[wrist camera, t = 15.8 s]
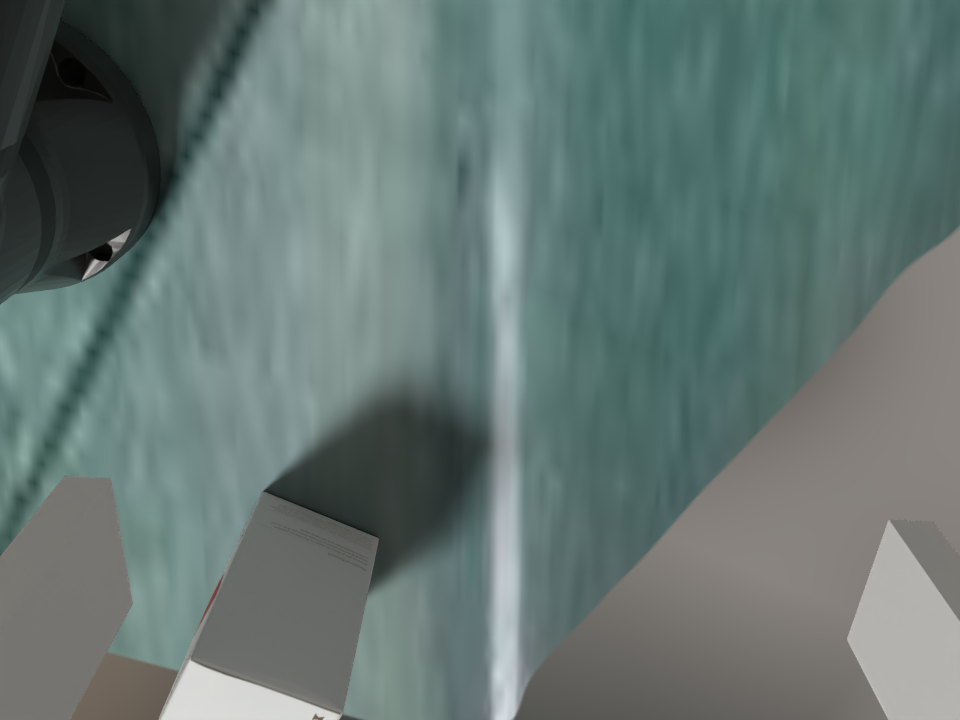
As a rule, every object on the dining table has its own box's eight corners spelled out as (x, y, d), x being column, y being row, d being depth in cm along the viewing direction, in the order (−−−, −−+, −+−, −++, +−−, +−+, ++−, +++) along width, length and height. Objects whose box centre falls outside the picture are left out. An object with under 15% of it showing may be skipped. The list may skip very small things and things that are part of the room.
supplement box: (261, 486, 56) (188, 656, 42) (382, 535, 57) (348, 714, 44) (217, 577, 59) (136, 761, 46) (332, 622, 61) (286, 811, 48)
